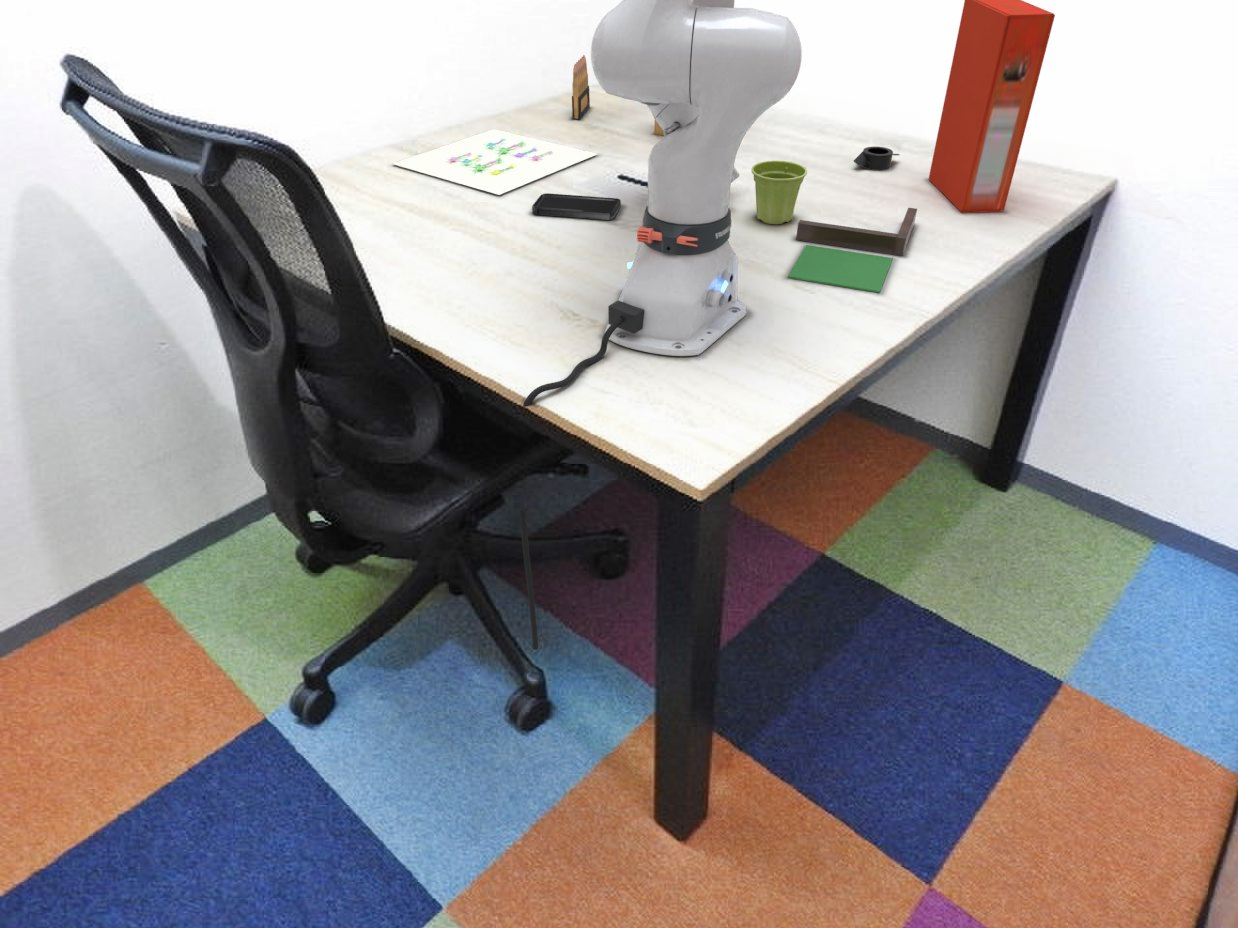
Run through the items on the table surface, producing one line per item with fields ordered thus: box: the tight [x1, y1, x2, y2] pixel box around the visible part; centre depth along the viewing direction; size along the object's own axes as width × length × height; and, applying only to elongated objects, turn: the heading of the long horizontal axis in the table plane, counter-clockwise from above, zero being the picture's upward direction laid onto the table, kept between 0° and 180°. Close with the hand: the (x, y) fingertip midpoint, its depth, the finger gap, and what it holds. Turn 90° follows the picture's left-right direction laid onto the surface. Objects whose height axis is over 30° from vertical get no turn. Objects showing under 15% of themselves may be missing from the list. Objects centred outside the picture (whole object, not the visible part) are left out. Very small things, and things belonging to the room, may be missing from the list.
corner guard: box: [795, 207, 918, 257], centre depth 147 cm, size 14×18×3 cm
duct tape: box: [853, 146, 901, 171], centre depth 175 cm, size 8×10×3 cm
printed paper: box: [392, 128, 598, 196], centre depth 178 cm, size 30×30×2 cm
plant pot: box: [751, 160, 808, 225], centre depth 151 cm, size 9×9×9 cm
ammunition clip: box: [571, 54, 591, 121], centre depth 203 cm, size 11×2×12 cm, turn 169°
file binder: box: [928, 0, 1056, 214], centre depth 152 cm, size 8×17×32 cm, turn 3°
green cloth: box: [787, 244, 893, 294], centre depth 136 cm, size 13×14×1 cm
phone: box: [531, 192, 622, 221], centre depth 156 cm, size 8×1×15 cm
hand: (733, 181), depth 153 cm, fingers closed
